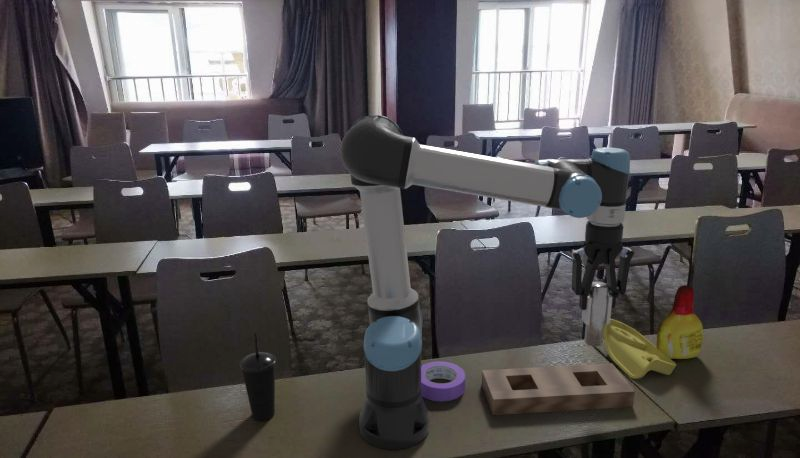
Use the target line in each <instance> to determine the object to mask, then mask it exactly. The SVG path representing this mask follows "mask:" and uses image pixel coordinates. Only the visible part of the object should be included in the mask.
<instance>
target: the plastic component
mask: <svg viewBox="0 0 800 458" xmlns="http://www.w3.org/2000/svg"><path fill="white" fill-rule="evenodd" d="M603 341H604V346H605V348H606V351H607V353H608V356H609V357H610V359H611V360H612V361H613V363H615V364H616V365H617V366H618V367H619V368H620V369H621V370H622V371H623V372H624V373H625V374H626V375H628V377H629V378H631V379H634V380H639V379H642V378H643V377H644V376H646V374H647V373H648V372H649V371H654V372H657V373H659V374H662V375H666V376H670V375H671V374H672V373H673V371H674V370H675V368H676V366H677V363H676V362H675V361H674V360H673V359H670V358H669V357H667V356H666V355H665V354H664V353H663V352H662V351H660V350H659V349H657V345H654V344H653V343H652V342H651V341H650V340H648V338H646V337H645V336H643V335H642V334H641V333H640V332H639V331H637V330H636V329H635V328H633V327H631V326H630V325H627V324H625V323H624V322H621V321H620V320H616V319H613V318H611V317H610V324H606V323H605V328H604V338H603Z"/></svg>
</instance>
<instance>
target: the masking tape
mask: <svg viewBox="0 0 800 458" xmlns="http://www.w3.org/2000/svg"><path fill="white" fill-rule="evenodd" d="M436 379H443V380H448V381H449V382H445V383H440V382H433V381H432V380H436ZM465 388H466V373H465V371H464V370H463V368H462V367H460V366H458V365H457V364H456V363H452V362H447V361H431V362H427V363H424V364H423V365H421V395H422V398H425V399H427V400H430V401H434V402H450V401H452V400H453V401H454V400H456V399H458V398H460V397H461V396H463V395H464V393H465V391H466V389H465Z"/></svg>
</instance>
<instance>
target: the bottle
mask: <svg viewBox="0 0 800 458" xmlns="http://www.w3.org/2000/svg"><path fill="white" fill-rule="evenodd" d="M694 298H695V290H694V289H693V288H692V287H691V286H689V285H686V284H685V285H684V284H683V285H681V286H679V287H678V288H677V289H676V293H675V294H674V298H673V299H674V300H673V304H672V308H671V311H670V312H669V314H668V315H667V316H666V317H665V318H664V319H662V321H661V322H660V324H659V325H658V328H657V332H656V347H657V349H659V350H660V351H662V352H663V353H664V354H665V355H666V356H667V357H669V358H670V359H671V360H673V359H674V360H675V359H677V360H688V359H692V358H696V357H698V356H699V354H700V351H701V350H702V344H703V340H704V335H703V334H704V333H703V332H704V327H703V323H702V321H701V320H700V318H699V317H698V316H697V314H696V313H694Z"/></svg>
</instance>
